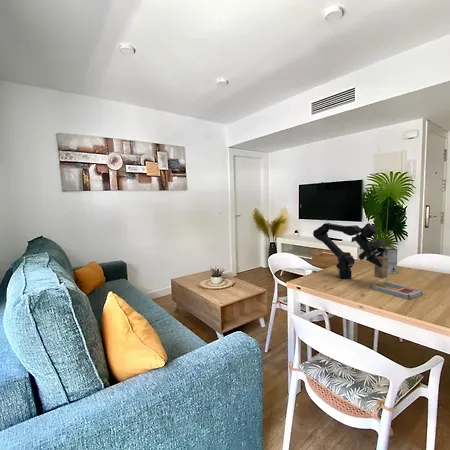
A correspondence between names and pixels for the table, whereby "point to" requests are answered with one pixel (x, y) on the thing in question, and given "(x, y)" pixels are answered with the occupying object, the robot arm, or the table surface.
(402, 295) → the u-shaped frame
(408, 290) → the rectangular frame
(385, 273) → the walnut block
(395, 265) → the coffee box
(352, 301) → the table surface
